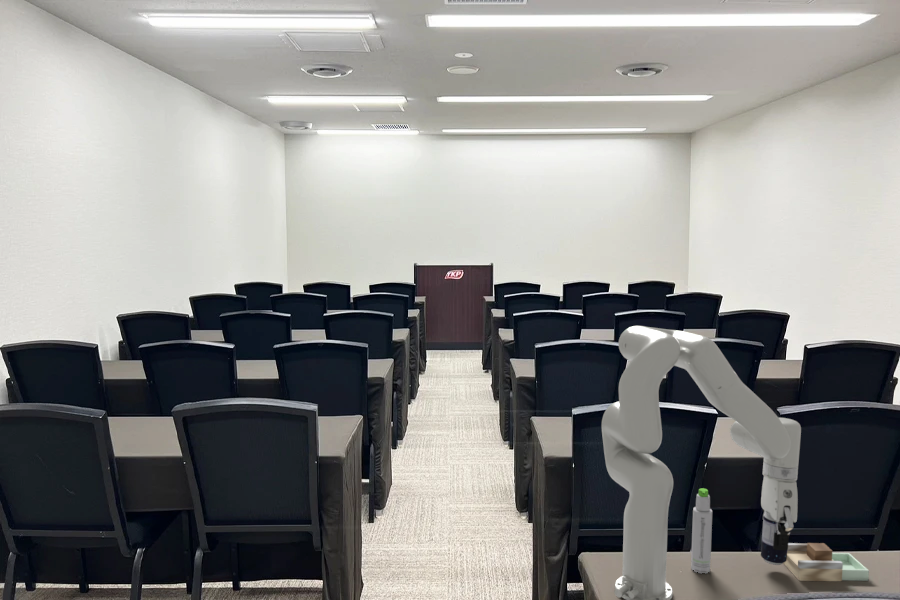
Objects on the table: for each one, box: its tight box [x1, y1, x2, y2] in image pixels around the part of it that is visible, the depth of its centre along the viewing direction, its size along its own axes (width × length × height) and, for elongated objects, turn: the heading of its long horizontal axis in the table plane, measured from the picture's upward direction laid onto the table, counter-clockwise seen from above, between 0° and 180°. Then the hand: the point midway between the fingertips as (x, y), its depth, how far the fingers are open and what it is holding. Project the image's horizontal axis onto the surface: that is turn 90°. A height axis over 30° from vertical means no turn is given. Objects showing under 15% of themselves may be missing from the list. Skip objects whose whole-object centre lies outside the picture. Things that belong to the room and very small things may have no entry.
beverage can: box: [760, 512, 787, 566], centre depth 170 cm, size 6×6×12 cm
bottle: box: [690, 487, 713, 574], centre depth 170 cm, size 4×4×20 cm
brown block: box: [807, 542, 833, 561], centre depth 170 cm, size 4×4×3 cm
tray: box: [832, 552, 870, 582], centre depth 170 cm, size 6×9×2 cm
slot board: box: [783, 542, 843, 582], centre depth 170 cm, size 10×10×4 cm
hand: (774, 542), depth 170 cm, fingers closed on beverage can, 5 cm apart
